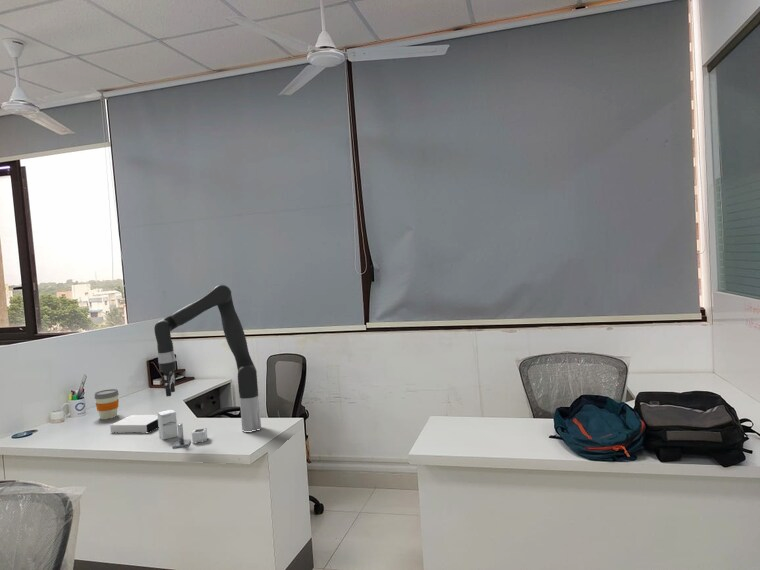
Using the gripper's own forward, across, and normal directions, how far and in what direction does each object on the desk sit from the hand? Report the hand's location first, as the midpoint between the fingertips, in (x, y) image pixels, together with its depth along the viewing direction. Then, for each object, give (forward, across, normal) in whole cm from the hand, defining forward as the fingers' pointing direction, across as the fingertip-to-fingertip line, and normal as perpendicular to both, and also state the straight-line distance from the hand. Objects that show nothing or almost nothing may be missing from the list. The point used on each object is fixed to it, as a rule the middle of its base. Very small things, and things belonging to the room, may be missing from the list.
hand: (170, 394), depth 254 cm
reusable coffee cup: (+22, +62, +50) cm, 83 cm away
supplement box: (+23, +8, +5) cm, 25 cm away
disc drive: (+23, +31, +24) cm, 46 cm away
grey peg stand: (+23, -7, -4) cm, 25 cm away
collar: (+24, -4, -12) cm, 27 cm away
